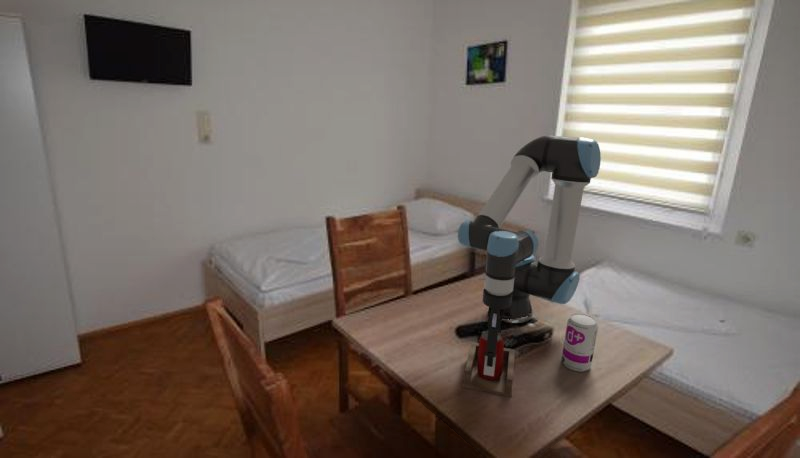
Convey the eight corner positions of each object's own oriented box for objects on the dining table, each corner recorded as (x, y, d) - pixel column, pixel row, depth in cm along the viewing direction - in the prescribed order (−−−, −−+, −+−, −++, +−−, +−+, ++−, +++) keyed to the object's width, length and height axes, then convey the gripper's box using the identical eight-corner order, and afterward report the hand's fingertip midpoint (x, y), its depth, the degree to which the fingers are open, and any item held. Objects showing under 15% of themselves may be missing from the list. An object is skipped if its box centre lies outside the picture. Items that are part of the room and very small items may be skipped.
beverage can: (501, 369, 123) (504, 331, 120) (502, 382, 116) (504, 342, 114) (477, 366, 124) (479, 328, 121) (476, 379, 118) (478, 340, 115)
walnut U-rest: (469, 357, 130) (470, 341, 129) (513, 365, 127) (515, 349, 125) (462, 386, 116) (463, 370, 115) (511, 397, 113) (513, 380, 111)
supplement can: (577, 375, 123) (585, 328, 119) (555, 360, 130) (562, 315, 125) (596, 368, 126) (605, 322, 122) (574, 354, 133) (581, 310, 129)
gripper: (487, 272, 124) (481, 340, 131) (479, 306, 104) (471, 385, 110) (514, 276, 122) (506, 345, 129) (511, 311, 102) (501, 391, 108)
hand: (490, 363), depth 119 cm, fingers open, 10 cm apart
